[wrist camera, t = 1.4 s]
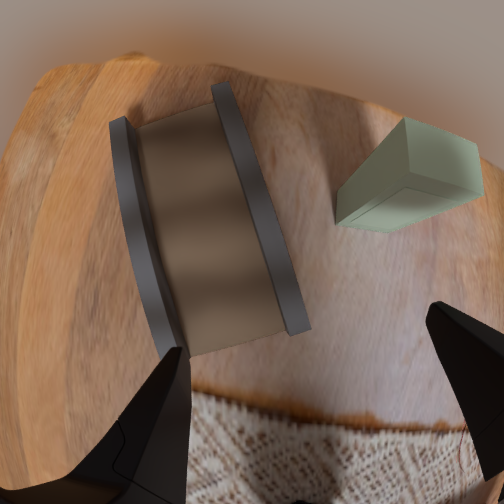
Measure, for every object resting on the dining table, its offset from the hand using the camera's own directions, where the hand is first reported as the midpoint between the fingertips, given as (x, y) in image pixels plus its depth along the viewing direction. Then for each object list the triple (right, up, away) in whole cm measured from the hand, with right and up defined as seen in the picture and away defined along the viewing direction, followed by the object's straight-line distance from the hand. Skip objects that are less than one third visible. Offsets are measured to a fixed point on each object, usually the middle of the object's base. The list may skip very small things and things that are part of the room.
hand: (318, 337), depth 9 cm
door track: (-6, +5, +14) cm, 16 cm away
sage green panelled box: (+7, +6, +14) cm, 17 cm away
